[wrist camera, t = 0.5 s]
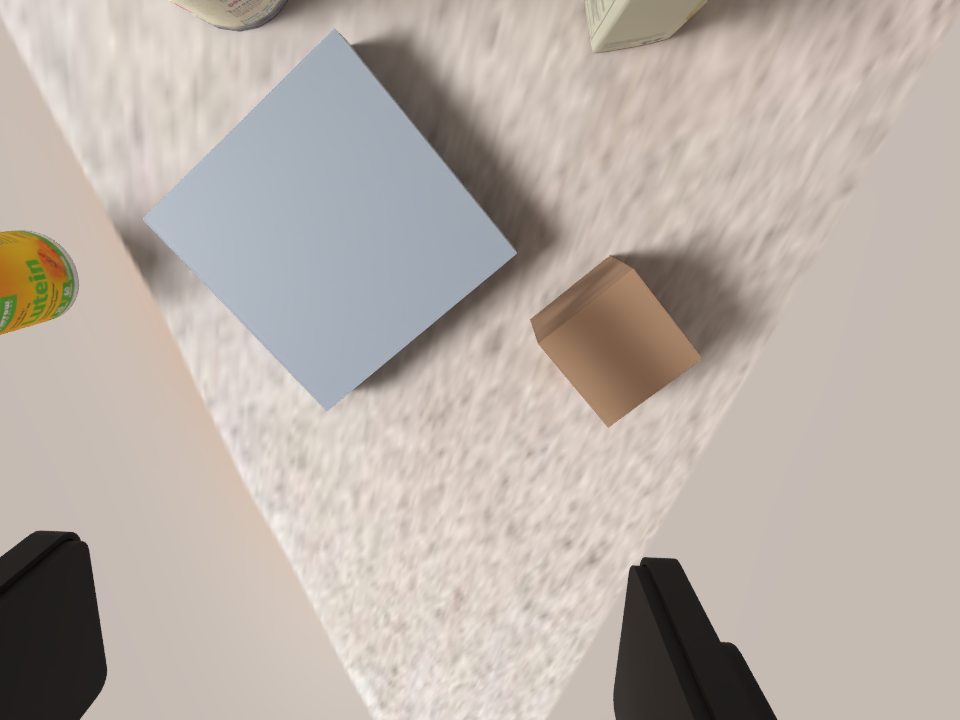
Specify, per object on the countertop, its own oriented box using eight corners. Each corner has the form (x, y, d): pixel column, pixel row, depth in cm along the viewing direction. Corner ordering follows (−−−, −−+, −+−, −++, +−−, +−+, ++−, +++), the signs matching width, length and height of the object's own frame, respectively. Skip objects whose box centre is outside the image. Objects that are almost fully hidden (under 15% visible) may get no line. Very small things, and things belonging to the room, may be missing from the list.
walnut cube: (609, 255, 36) (633, 268, 30) (668, 331, 37) (702, 358, 31) (530, 319, 37) (538, 343, 31) (589, 391, 38) (608, 427, 32)
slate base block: (352, 46, 33) (334, 28, 29) (514, 246, 36) (517, 253, 32) (179, 215, 36) (142, 218, 32) (342, 389, 38) (326, 411, 35)
